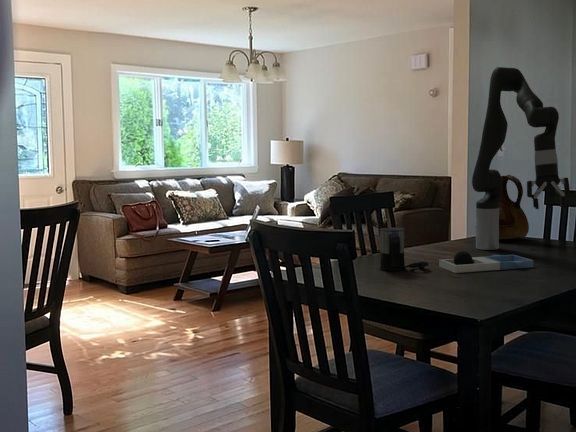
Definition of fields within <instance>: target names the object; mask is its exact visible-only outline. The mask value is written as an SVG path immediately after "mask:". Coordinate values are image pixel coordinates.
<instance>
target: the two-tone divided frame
mask: <svg viewBox="0 0 576 432" xmlns="http://www.w3.org/2000/svg"><path fill="white" fill-rule="evenodd" d="M471 257H472V259H473V260H474V263H476V264H465V265H455V263H454V258H447V259H446V258H445V259H443V258H442V259H438V262H439V263H438V266H439V268H442V269H445V270H447V271H449V272H452V273H455V274H458V273H472V272H474V273H475V272H484V271H485V272H486V271H488V272H489V271H499V270H500V271H501V270H502V271H503V270H511V269H512V270H514V269H527V268H534V260H533V259H531V258H526V257H524V256H523V257H522V256H520V255H518V254H517V255H516V254H506V255H501V254H491V256H490V255H489V256H488V255H487V256H475V257H473V256H471Z"/></svg>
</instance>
